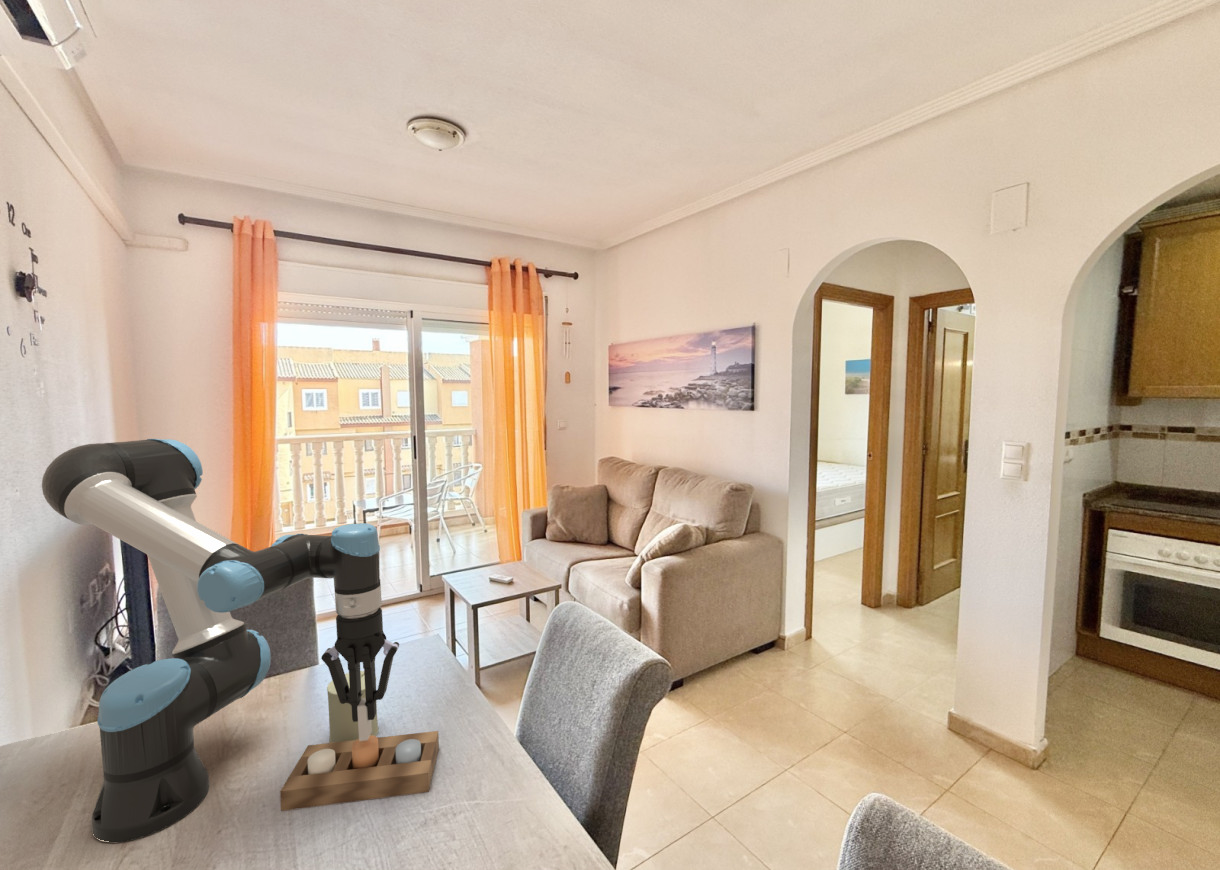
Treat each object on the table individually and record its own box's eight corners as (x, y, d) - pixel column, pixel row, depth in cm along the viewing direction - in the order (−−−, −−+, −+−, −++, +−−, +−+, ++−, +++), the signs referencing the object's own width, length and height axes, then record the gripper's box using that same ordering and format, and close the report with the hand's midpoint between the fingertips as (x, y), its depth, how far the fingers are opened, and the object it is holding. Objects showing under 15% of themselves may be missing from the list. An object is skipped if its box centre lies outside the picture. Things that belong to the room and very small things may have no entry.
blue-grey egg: (393, 780, 96) (393, 756, 95) (399, 763, 100) (398, 740, 100) (419, 777, 96) (418, 753, 96) (423, 760, 101) (422, 737, 100)
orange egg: (349, 776, 94) (348, 752, 94) (356, 760, 98) (355, 736, 98) (375, 773, 95) (374, 749, 95) (381, 757, 99) (380, 734, 99)
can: (387, 723, 113) (385, 669, 112) (362, 751, 104) (360, 693, 103) (346, 720, 114) (344, 667, 113) (319, 749, 105) (316, 691, 104)
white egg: (304, 791, 93) (303, 766, 93) (314, 774, 97) (313, 750, 97) (331, 788, 94) (330, 763, 93) (339, 770, 98) (338, 747, 98)
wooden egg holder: (281, 810, 89) (280, 791, 89) (308, 762, 101) (307, 745, 100) (428, 791, 93) (428, 772, 93) (438, 747, 105) (438, 730, 105)
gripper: (312, 622, 90) (319, 754, 91) (392, 615, 92) (398, 744, 94) (327, 605, 97) (334, 728, 99) (401, 600, 99) (407, 719, 101)
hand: (365, 735), depth 96 cm, fingers closed
